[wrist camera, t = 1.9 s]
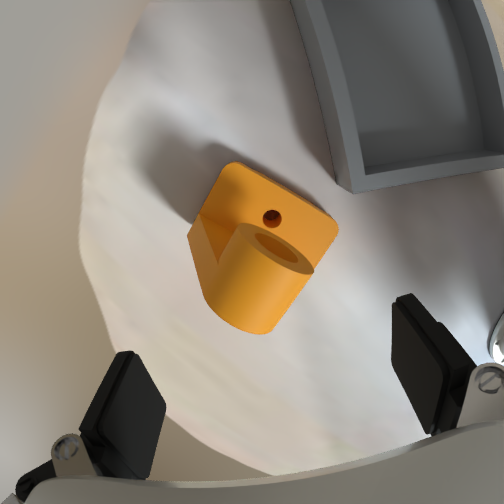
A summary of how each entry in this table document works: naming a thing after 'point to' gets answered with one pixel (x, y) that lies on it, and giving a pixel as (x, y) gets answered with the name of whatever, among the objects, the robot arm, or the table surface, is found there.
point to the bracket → (256, 247)
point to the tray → (405, 88)
